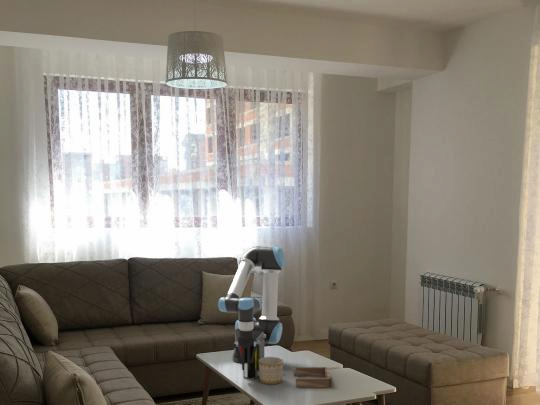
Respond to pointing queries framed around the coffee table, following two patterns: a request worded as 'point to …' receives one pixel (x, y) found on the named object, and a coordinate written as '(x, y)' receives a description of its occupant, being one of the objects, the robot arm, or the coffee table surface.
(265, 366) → the planter
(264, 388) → the coffee table surface
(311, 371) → the walnut cradle
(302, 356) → the coffee table surface
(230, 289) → the robot arm
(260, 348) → the electrical component
